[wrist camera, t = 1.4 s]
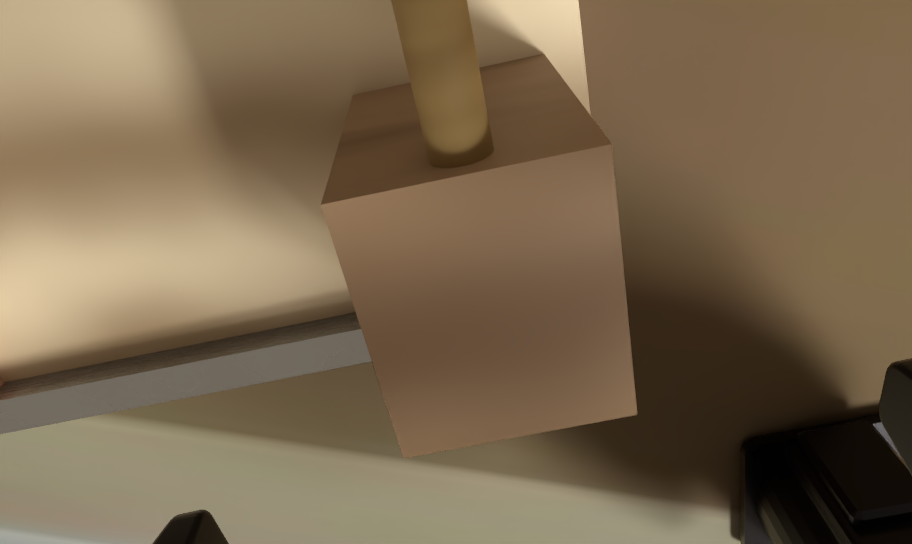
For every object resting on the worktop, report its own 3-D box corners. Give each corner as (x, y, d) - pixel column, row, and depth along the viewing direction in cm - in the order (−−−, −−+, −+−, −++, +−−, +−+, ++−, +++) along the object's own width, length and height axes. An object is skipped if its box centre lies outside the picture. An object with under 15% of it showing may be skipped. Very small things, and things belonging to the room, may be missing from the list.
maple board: (596, 269, 23) (610, 300, 21) (-27, 393, 24) (-61, 432, 23) (536, -239, 16) (550, -254, 15) (-325, -32, 18) (-407, -23, 16)
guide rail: (610, 295, 21) (618, 313, 20) (-64, 428, 23) (-84, 450, 22) (606, 261, 21) (614, 278, 20) (-86, 400, 22) (-107, 421, 21)
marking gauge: (571, 257, 21) (637, 414, 14) (406, 290, 21) (403, 458, 15) (520, -125, 16) (586, -128, 10) (305, -75, 16) (237, -49, 10)
